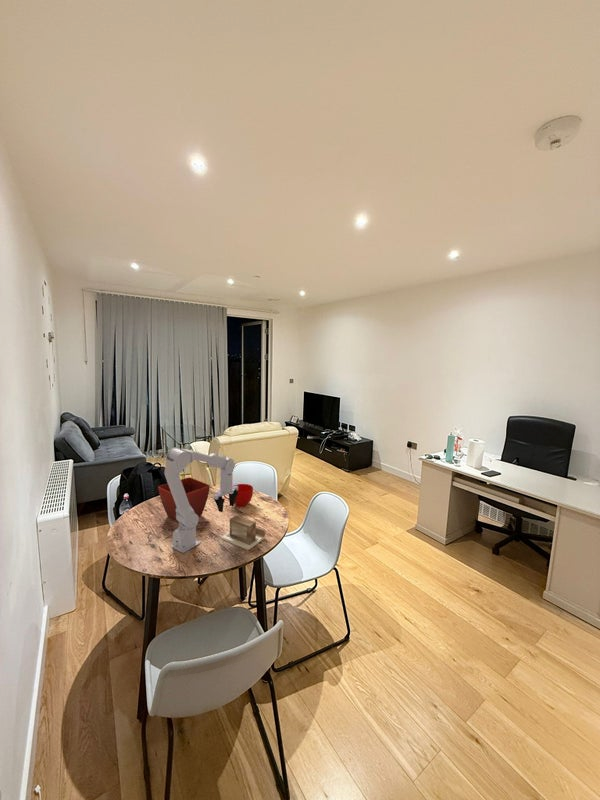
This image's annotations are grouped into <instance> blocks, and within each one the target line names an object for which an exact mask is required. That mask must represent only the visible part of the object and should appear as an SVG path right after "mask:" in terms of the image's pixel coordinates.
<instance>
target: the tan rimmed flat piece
mask: <svg viewBox="0 0 600 800" xmlns="http://www.w3.org/2000/svg"><path fill="white" fill-rule="evenodd" d="M265 539H266V529H264V528H261V527H258V526H256V539H255V540H253V541H252V542H250V543H248V542H245V541H243V540H240V539H238V538H235V537H233V536H230V531H229V532H227V533H225V534H224V535H223V536H221V540H223V541H226V542H227V543H231V544H232V545H235V546H237V547H239V548H243V549H245V550H247V551H249V550H251V549H252V548H254V546H256V545H258V544H259V543H260V542H262V541H263V540H265Z"/></svg>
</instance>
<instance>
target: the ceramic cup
mask: <svg viewBox="0 0 600 800" xmlns="http://www.w3.org/2000/svg"><path fill="white" fill-rule="evenodd" d="M233 486H238V490H237V491H238V495H237V497H236V500H235V503H234V506H236V507H238V508H244V507H246V506H248V504H249V503H250V502H251V500H252V499H253V494H254V488H253V487H254V486H253V485H250V484H248V483H238V484H234V485H233ZM223 497H224V499H225V500H229V497H227V495H224V496H223Z"/></svg>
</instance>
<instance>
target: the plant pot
mask: <svg viewBox="0 0 600 800" xmlns="http://www.w3.org/2000/svg"><path fill="white" fill-rule="evenodd" d="M180 479H181V478H180ZM181 482H182V484H183V487H184V490H185V493H186V496H187V499H188V501H189V504H190V506H191V507H192V509H193V510H194V512H195V514H197V515H198V517H199V518H200V517H201V516H202V515H203V513H204V510H205V508H206V505H207V502H208V497H209V494H210V488H211V487H210V486H211V484H208V483H206V482H203V481H201V480H198V479H196V478H193V477H185V478H182V479H181ZM157 489H158V493H159V498H160V501H161V504H162V507H163V509H164V511H165V514H166V516H167V518H169V519H170V520H172V521H174V522H176V523H178V524H179V521H177V519H176V508H177V507H176V504H175V501H174V499H173V496H172V493H171V491H170V488H169V485H168V483H165V484H161V485H159V486H157Z"/></svg>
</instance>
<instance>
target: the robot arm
mask: <svg viewBox="0 0 600 800" xmlns="http://www.w3.org/2000/svg"><path fill="white" fill-rule="evenodd" d="M164 458H165V466H164V473H163V474H164V476H165V479H166V482H167V484H168V485H169V488H170V491H171V493H172V496H173V499H174V501H175V504H176V507H177V508H176V519H177V521H179V523H178V527H177V528H176V529H175V530H173V532H172V545H171V548H172V549H174V550H175V551H178V552H180V553H182V554H184V553H186V552H188V551H189V550H191V549H192V548H194V547H196V546H198V545H199V544H201V541H198V540H197V525H198V523H199V522H200V516H199V517H198V515H197V514H195V512H194V510H193V509H192V507H191V506H190V504H189V501H188V499H187V496H186V493H185V490H184V487H183V484H182V482H181V477H180V474H181V473H182V471H183V470H185V468H186V467H187V466H188V465H189V464H190V463H193V462H194V461H199V462H203V463H204V462H205V463H207V465H208V466H209V467H213V468H218V469H220V471H219V473H220V474H219V475H220V477H219V478H220V479H219V480H220V490H218V492H216V493H215V494H213V500H214V502H215V503H216V506H217V509H218V512H220V513H223V511H224V504H225V502H226V501H225V500H226V498H223V497H224V495H225V496H227V495H228V498H229V503H228V504H229V506H230V507H234V506H235V504H234V503H235V500H236V497H237V495H238V491H237V490H238V486H234V485H233V479H234V478H233V475H234V474H233V472H234V469H235V466H236V463H235V460H234V459H233V458H230V457H228V456H227V455H223V454H222V455H220V454H219V453H218V452H213V453H210V454H205V453H201V452H199V451H195V450H191V449H187V448H178V447H173V448H170V450H169V451H168V452H167V453H166V455H165V457H164Z"/></svg>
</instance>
